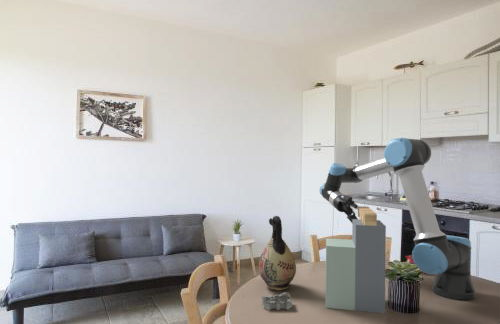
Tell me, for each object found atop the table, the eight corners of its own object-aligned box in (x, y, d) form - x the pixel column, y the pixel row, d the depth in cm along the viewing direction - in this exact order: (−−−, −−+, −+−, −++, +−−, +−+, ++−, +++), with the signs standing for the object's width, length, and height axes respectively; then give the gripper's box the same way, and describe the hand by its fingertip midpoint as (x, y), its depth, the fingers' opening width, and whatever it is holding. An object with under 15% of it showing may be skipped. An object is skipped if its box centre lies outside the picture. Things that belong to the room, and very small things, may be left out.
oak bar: (358, 215, 148) (358, 206, 148) (368, 216, 147) (368, 206, 147) (364, 225, 124) (364, 213, 124) (376, 225, 124) (376, 214, 124)
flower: (422, 272, 165) (426, 257, 168) (401, 265, 170) (406, 250, 173) (421, 279, 172) (425, 264, 175) (401, 272, 177) (406, 257, 180)
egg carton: (290, 302, 132) (290, 291, 132) (293, 311, 124) (293, 299, 124) (261, 302, 131) (261, 291, 131) (262, 310, 124) (262, 299, 124)
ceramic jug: (256, 281, 155) (257, 212, 155) (291, 280, 156) (291, 212, 157) (261, 295, 138) (262, 218, 138) (300, 294, 140) (301, 218, 140)
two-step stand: (325, 293, 140) (326, 218, 141) (378, 298, 136) (379, 220, 137) (325, 307, 127) (326, 223, 127) (384, 313, 123) (385, 226, 123)
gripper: (338, 178, 168) (365, 197, 149) (353, 216, 179) (379, 239, 160) (325, 186, 167) (350, 206, 148) (341, 224, 178) (365, 248, 159)
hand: (365, 223), depth 154 cm, fingers open, 13 cm apart
